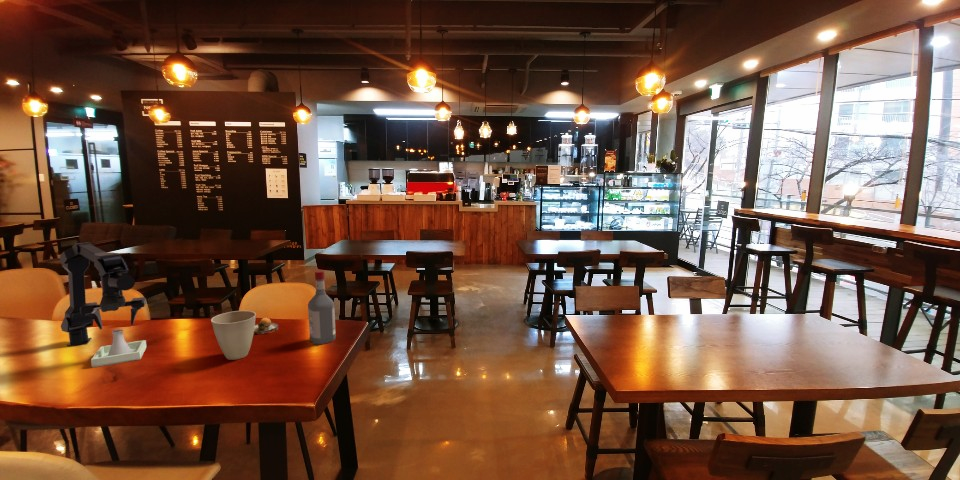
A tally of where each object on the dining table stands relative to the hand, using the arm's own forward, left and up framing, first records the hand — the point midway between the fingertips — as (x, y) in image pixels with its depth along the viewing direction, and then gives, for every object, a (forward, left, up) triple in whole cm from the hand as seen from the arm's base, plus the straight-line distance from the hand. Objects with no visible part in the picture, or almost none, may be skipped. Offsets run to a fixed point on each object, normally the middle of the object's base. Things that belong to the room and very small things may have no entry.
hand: (117, 327), depth 164 cm
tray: (0, 0, -12) cm, 12 cm away
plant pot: (+21, +39, -12) cm, 46 cm away
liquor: (+20, +71, -12) cm, 75 cm away
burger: (-6, +50, -12) cm, 52 cm away
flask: (0, 0, -12) cm, 12 cm away
